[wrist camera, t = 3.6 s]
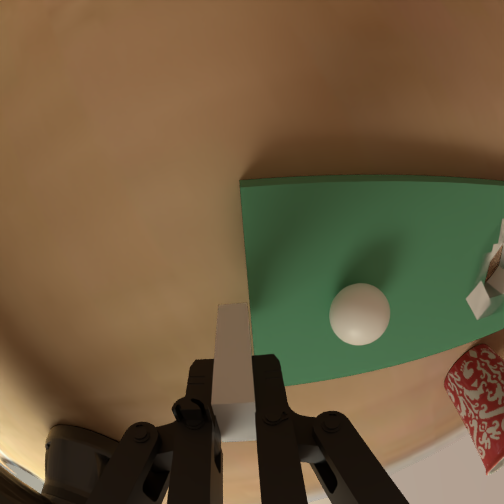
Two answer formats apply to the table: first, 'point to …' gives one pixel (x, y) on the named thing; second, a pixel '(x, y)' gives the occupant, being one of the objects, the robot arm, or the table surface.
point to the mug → (480, 401)
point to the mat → (371, 266)
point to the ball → (359, 314)
